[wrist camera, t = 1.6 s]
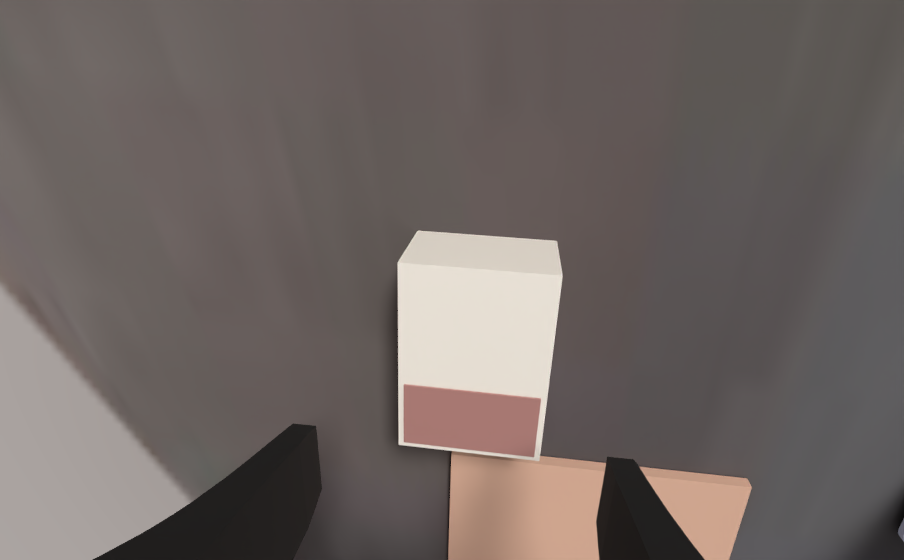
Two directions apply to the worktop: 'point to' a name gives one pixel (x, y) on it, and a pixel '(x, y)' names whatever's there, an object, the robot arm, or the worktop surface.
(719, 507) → the mat
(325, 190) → the worktop surface
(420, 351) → the card box
